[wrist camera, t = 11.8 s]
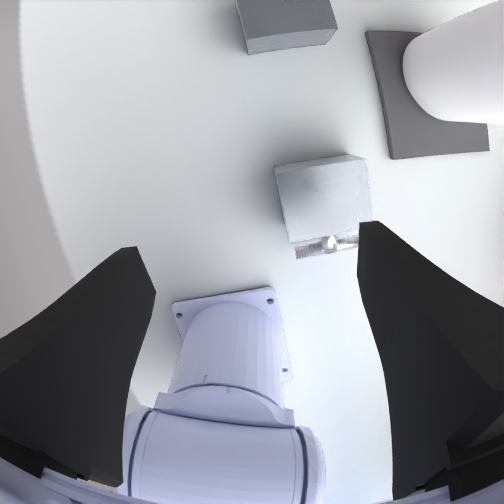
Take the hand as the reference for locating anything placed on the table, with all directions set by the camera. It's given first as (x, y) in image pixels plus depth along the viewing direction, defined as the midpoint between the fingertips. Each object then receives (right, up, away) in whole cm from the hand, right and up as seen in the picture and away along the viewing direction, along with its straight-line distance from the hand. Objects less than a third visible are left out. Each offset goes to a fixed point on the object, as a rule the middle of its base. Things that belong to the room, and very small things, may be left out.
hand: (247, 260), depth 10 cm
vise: (+3, +10, +8) cm, 13 cm away
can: (+13, +12, +6) cm, 19 cm away
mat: (+13, +11, +7) cm, 19 cm away
